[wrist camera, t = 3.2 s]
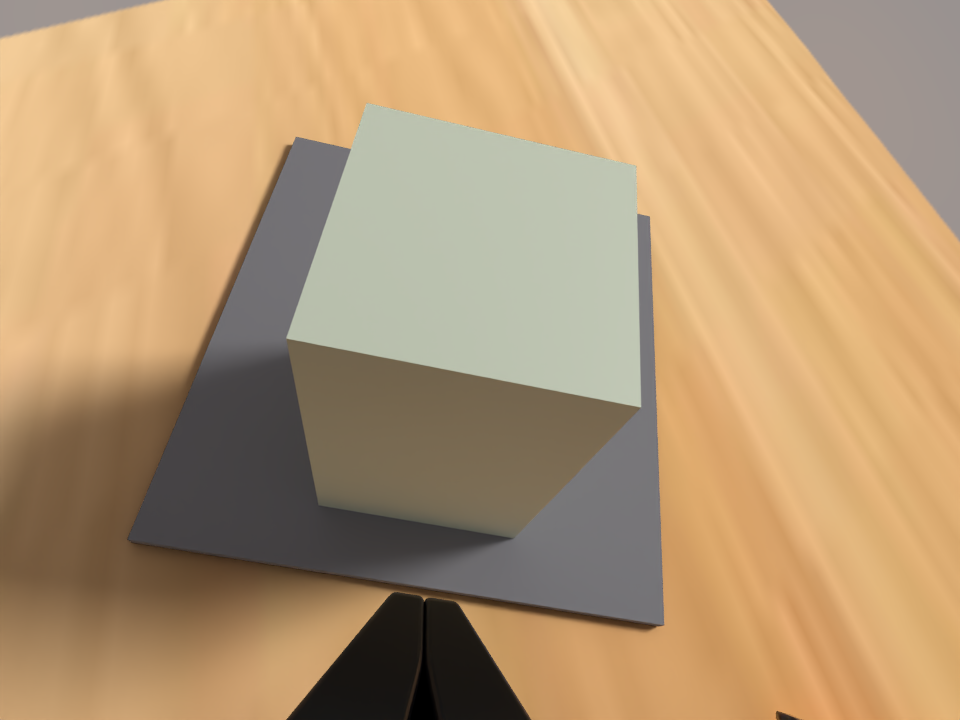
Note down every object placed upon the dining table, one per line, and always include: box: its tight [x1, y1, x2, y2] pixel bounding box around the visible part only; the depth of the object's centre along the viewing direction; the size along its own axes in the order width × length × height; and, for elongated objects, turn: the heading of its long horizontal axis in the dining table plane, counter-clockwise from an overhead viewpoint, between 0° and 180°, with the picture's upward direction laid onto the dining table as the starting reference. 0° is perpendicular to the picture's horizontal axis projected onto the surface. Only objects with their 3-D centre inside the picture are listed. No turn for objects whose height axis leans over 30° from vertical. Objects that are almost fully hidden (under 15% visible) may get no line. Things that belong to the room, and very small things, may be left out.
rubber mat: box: [127, 137, 664, 626], centre depth 18 cm, size 14×13×1 cm
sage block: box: [286, 103, 641, 538], centre depth 13 cm, size 5×5×8 cm
